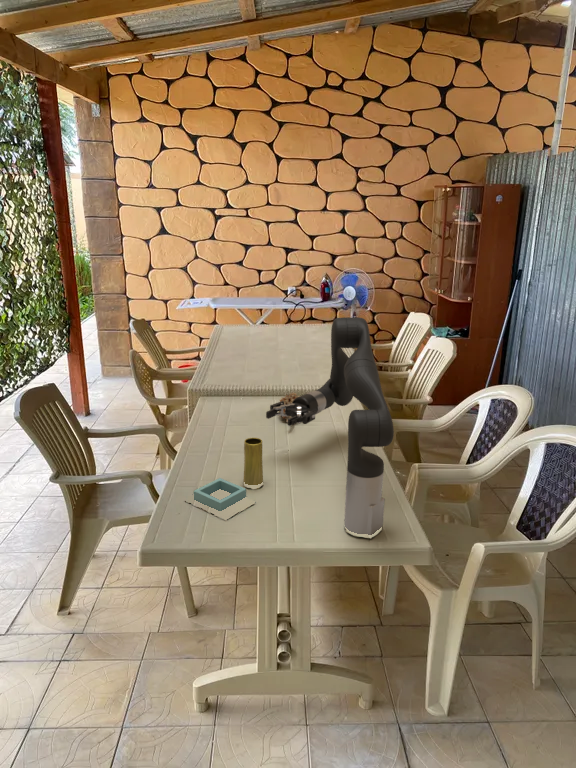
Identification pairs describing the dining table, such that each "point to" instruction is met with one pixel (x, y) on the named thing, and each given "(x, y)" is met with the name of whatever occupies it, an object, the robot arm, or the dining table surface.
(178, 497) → the dining table surface
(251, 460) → the vase
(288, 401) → the pine cone
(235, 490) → the dock
